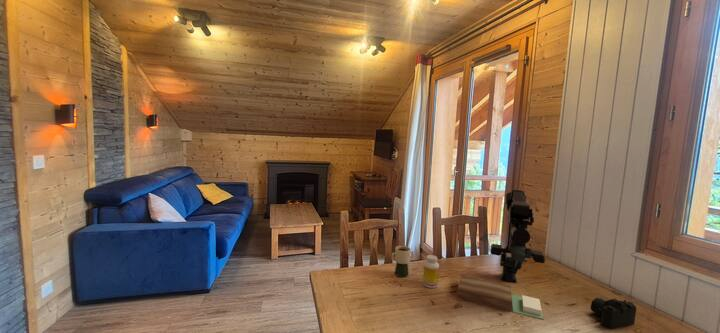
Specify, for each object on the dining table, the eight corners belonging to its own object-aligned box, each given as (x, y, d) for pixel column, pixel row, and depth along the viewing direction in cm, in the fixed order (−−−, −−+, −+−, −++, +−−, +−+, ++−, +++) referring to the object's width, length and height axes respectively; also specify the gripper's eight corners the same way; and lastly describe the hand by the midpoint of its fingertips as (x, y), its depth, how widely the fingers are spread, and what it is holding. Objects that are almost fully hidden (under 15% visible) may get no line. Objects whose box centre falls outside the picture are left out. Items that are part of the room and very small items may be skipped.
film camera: (610, 310, 118) (612, 288, 117) (638, 325, 109) (642, 301, 108) (581, 315, 114) (584, 292, 113) (608, 331, 105) (611, 306, 104)
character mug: (409, 270, 146) (410, 244, 145) (415, 277, 139) (417, 250, 138) (388, 272, 143) (389, 246, 142) (393, 279, 136) (394, 252, 135)
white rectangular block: (539, 299, 120) (538, 303, 120) (522, 295, 122) (521, 299, 123) (541, 310, 112) (541, 315, 112) (523, 306, 114) (522, 311, 114)
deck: (460, 283, 135) (461, 274, 135) (509, 294, 127) (510, 285, 127) (456, 298, 122) (457, 288, 122) (511, 311, 114) (512, 301, 114)
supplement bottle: (438, 289, 129) (440, 260, 127) (422, 287, 130) (424, 259, 129) (437, 282, 135) (439, 254, 134) (422, 280, 137) (424, 253, 135)
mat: (511, 294, 127) (511, 294, 127) (538, 301, 123) (538, 300, 123) (512, 312, 114) (513, 311, 114) (543, 319, 110) (543, 318, 110)
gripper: (492, 238, 114) (489, 277, 116) (549, 246, 107) (545, 288, 109) (492, 229, 125) (489, 265, 126) (544, 237, 117) (540, 275, 119)
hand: (514, 273), depth 120 cm, fingers closed
